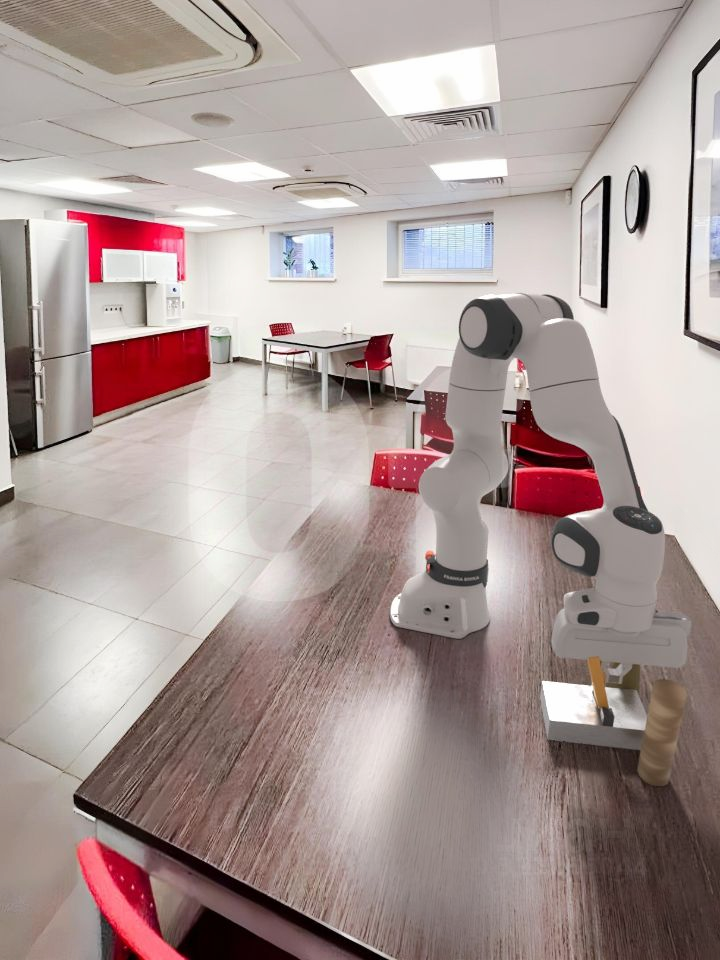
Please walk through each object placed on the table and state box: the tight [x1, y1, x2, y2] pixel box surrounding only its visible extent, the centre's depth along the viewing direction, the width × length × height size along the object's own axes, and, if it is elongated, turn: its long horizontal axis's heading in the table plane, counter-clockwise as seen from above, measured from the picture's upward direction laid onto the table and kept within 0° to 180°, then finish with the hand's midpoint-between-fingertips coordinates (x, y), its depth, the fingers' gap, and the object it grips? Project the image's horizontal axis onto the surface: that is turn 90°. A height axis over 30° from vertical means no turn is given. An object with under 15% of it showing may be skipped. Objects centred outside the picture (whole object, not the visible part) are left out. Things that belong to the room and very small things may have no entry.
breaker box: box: [539, 680, 648, 751], centre depth 99 cm, size 16×10×6 cm, turn 81°
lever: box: [586, 656, 609, 711], centre depth 97 cm, size 2×4×11 cm, turn 168°
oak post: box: [636, 678, 688, 787], centre depth 87 cm, size 4×4×16 cm
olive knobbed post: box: [604, 662, 641, 698], centre depth 106 cm, size 6×6×11 cm
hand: (611, 680), depth 97 cm, fingers closed
